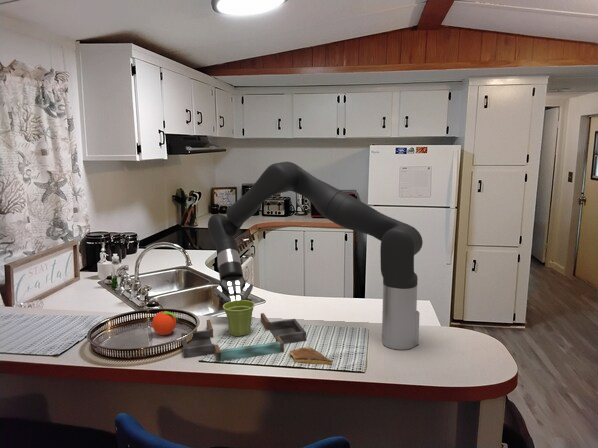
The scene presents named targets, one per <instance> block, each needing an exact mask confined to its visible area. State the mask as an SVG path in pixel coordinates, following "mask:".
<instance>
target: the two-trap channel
mask: <svg viewBox="0 0 598 448" xmlns="http://www.w3.org/2000/svg"><path fill="white" fill-rule="evenodd" d="M260 322H261V324H262V326H264V328H265V330H266V331H270V332H271V334H272V336H273V337H274V338H275V341H273V342H266V343H261V344H259V343H257V344H252V345H245V346H238V347H231V348H230V347H229V348H223V349H220V346H219V344H215V343H212V339H211V338H214V328H213V325H212V322H211V319H206V330H197V331H193V332H194V333H193V337H192V341H191V342H190V343H189V344H187V342H186V338H185V339H184V340H182V339H181V345H182V344H183V347H182V352H183V358H184V359H187V358H193V357H201V356H208V355H207V354H209V355H214V356H215V359H217V360H216V362H217V361H220V362H225V361H224V360H227V361H231V360H232V359H233V360H239V358H240V359H247V358H251V357H253V358H254V357H258V356H266V354H267V355H274V354H278V353H279V354H280V353H285V344H291V343H298V342H299V343H300V342H306V341H307V331H306V330H305V329H304V328H303V327H302V325H301V324H300V323H299V322H298V321H297V319H296V318H291V319H285V320H284V319H282V320H277V321H270V320H269V319H268V317H267V316H266V314H265V313H264V312H262V313H260ZM188 333H190V331H189V332H182V333H181V335H180V336H181V338H182V337H183V336H185V335H187V334H188ZM273 353H274V354H273Z"/></svg>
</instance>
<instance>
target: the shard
mask: <svg viewBox="0 0 598 448" xmlns="http://www.w3.org/2000/svg"><path fill="white" fill-rule="evenodd" d="M288 354H289V355H290V356H292V357H293V363H295V362H298V363H306V364H316V365H332V363H333V360H331V359H329V358H328V357H326V356H325V355H324V354H322V353H321V352H319V351H317V350H316V349H314V348H312V347H310V346H309V347H308V346H307V347H304V346H303V347H299V348H296V349H293V350H290V351H289V352H288Z"/></svg>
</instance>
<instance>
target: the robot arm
mask: <svg viewBox="0 0 598 448" xmlns="http://www.w3.org/2000/svg"><path fill="white" fill-rule="evenodd" d="M287 192H293V193H295V194H298V195H300V196H302V197H303V198H305V199H307V200H308V201H309V202H311V204H312V205H313V206H314V208H315V210H317V212H318V213H319V214H320V215H321V216H323V218H325V219H327V220H328V221H330V222H332V223H334V224H336V225H338V226H340V227H342V228H344V229H348V230H351V231H354V232H357V233H361V234H365V235H368V236H371V237H373V238H375V239H377V240H378V241H380V249H379V250H380V252H379V253H380V255H379V256H380V273H381V276H382V313H381V314H382V317H381V319H382V321H381V322H382V325H381V343H382V345H384V346H385V347H387V348H389V349H393V350H400V351H401V350H411V349H413V348H414V347H415V346H418V345H419V342H420V341H419V339H420V337H419V336H420V312H419V311H418V309H417V308H418V307H417V305H418V280H419V279H418V275H417V273H415V255H417V254H418V253H419V252H420V251H421V249H422V247H423V243H424V242H423V237H422V235H421V233H420V232H419V231H418V229H417V228H415V227H414V226H413V225H410V224H407V223H405V222H403V221H401V220H397V219H395V218H392V217H390V216H388V215H386V214H383V213H382V212H380V211H378V210H376V209H375V208H373V207H371V206H370V205H368V204H366V203H365V202H364V201H361V200H359V199H357V198H355V197H354V196H352V195H350V194H349V193H346V192H345V191H343V190H340V189H339V188H336V187H335V186H333V185H331V184H329V183H327V182H325V181H323V180H321V179H320V178H317V177H316V176H313V175H312V173H310V172H308V171H306V170H305V169H303V167H301V166H299V165H298V164H296V163H295V162H294V163H293V162H291V161H281V162H275V163H272V164H270V165H269V166H267V168H266V169H265V170H264V171H263V172H262V173H261V175H260V176H259V178H258V179H257V180H256V181H255V182H254V184H253V185H252V186H251V187H249V189H248V191H246V192H245V193H244V194H242V196H241V197H240V198H239V199H238V200H236V201H235V202H233V204H232V205H230V206H229V207H228V208H227V211H226V215H223V214H219V213H215V214H212V215H211V216H210V218H209V219H208V222H207V229H208V232H209V235H210V237H211V240H212V242H213V244H214V245H215V250H216V256H217V269H218V276H219V285H218V287H215V288H214V289H213V294H214V295H215V296H216V298H217V299H219V300H220V301H222V303H223V304H225V303H227V302H230V301H235V300H247V299H248V298H249V296H250V294H251V293H252V291H253V289H254V284H252V283H250V284H249V283H247V281H246V279H245V277H244V273H243V266H242V260H241V257H240V254H239V250H238V244H237V241H236V239H235V238H234V237H235V236H237V234H238V233H239V231H240V229H241V228H242V226H243V225H244V223H245V222H247V220H249V219H250V218H252V216H254V215H255V214H256V213H257V211H258V210H259V209H260V207H261V205H262V204H263V202H265V201H266V200H268V199H269V198H271V197H274V196H276V195H277V194H283V193H287ZM243 290H245V291H244V293H243V294H242V296H241V293H242V292H243Z"/></svg>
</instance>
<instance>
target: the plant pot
mask: <svg viewBox="0 0 598 448" xmlns="http://www.w3.org/2000/svg"><path fill="white" fill-rule="evenodd" d="M255 305H256V304H255V302H254V301H251V300H247V299H246V300H236V299H235V301H230V302H227V303H223V305H222V308H223V310H224V312H225V315H226V320H227V324H228V331H229V333H230V335H231V336H234V337H241V336H247V335H249V334H250V333H251V330H252V329H251V328H252V319H253V311H254V308H255Z"/></svg>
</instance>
